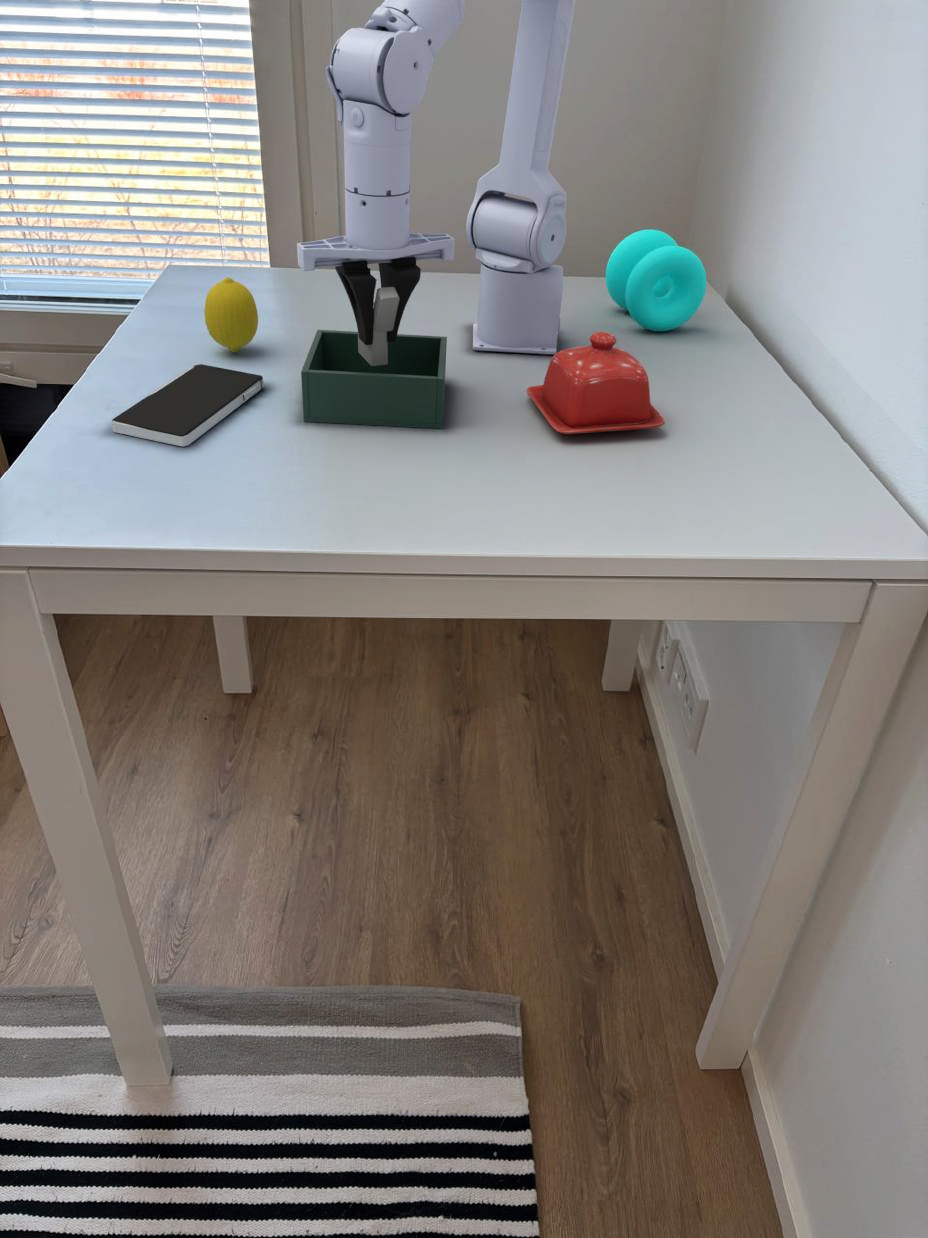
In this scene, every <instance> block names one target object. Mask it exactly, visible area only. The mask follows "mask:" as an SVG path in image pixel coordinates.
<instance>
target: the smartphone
mask: <svg viewBox="0 0 928 1238" xmlns="http://www.w3.org/2000/svg"><path fill="white" fill-rule="evenodd" d="M264 387H265V385H264V378H263V375H261V374H255V373H251V372H250V373H249V372H244V371H239V370H234V369H229V368H224V367H218V366H213V365H207V364H202V363H200V364H195V365H193V366H191V367H190V368H188V369H187V370H185V371H184V372H182V373H180V374H179V375H178V376H176V377H175V378H173V379H172V380H170V381H169V382H167V383H166V384H164V385H163V386H161V387H159V388H158V389H157V390H155V391H153V392H152V393H150V394H149V395H147V396H146V397H144V398H142V399H140V400H139V401H138V402H137V403H135V404H134V405H132V406H130V407H129V408H128V409H125V411H123V412H121V413H119V414H118V415H117V416H115V417H114V418H112V420H111V427H112V431H113V433H116V434H121V435H126V436H131V437H135V438H140V439H144V440H150V441H155V442H160V443H164V444H169V445H174V446H178V447H187V446H190V444H192V443H193V442H195V441H196V440H197V439H198V438H200V437H201V436H202V435H204V434H205V433H207V431H209V430H210V429H211V428H213V427H214V426H215V425H217V424H218V423H220V422H221V421H222V420H223V419H224V418H226V417H227V416H228V415H229V414H231V413H232V412H234V411H235V410H236V409H238V408H239V407H240V406H242V405H243V404H244V403H245V402H247V401H248V400H249V399H250V398H252V397H253V396H255V395H256V394H257V393H258V392H260V391H261V390H263V389H264Z"/></svg>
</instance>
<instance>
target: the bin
mask: <svg viewBox="0 0 928 1238" xmlns="http://www.w3.org/2000/svg"><path fill="white" fill-rule="evenodd" d="M447 344H448V337H447V336H439V335H438V336H437V335H421V334H403V333H397V338H396V342H391V343H389V342H388V364H386V365H377V366H371V365H370V364H369V363H368V362H367V361H366V360H365V359H364V358H363V357H362V355H361V354H360V353H359V352H358V331H347V330H332V329H331V330H330V329H329V330H328V329H317V330H316V332H315V335H314V338H313V340H312V342H311V345H310V348H309V351H308V352H307V356H306V359H305V361H304V364H303V366H302V368H301V371H300V376H301V396H302V414H303V418H302V419H303V422H305V423H307V422H308V423H325V424H342V425H345V424H346V425H360V426H361V425H363V426H382V427H402V428H420V429H438V430H443V418H444V417H443V416H444V402H445V389H446V369H447V368H446V367H447V366H446V365H447V347H448V346H447Z"/></svg>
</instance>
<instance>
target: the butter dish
mask: <svg viewBox="0 0 928 1238" xmlns="http://www.w3.org/2000/svg"><path fill="white" fill-rule="evenodd" d="M589 342H590V343H591V345H584V346H575V347H570V348H566V349H563V350H559V351H556V354H553V356H552V357H551V359H550V361H549V364H548V366H547V370H546V374H545V377H544V380H543V384H538V385H532V386H528V387H527V388H526V390H525V391H526V394H527V395H528V397H529V398H530V400H531V401H532V402H533V403H534V405H535V406H536V407H537V409H538V410H539V411H540V412H541V414H542V415H543V416H544V418H545V420H546V422H548V424H549V426H551V427H552V428H553V429H554V431H556V432H558V433H560V434H563V435H564V434H566V435H572V434H590V433H591V434H592V433H603V432H604V433H605V432H617V431H618V432H619V431H631V430H632V431H633V430H641V429H654V428H659V427H662V426H664V425H665V423H666V422H665V419H664V417H663V416H662V415H661V414H660V412H659V411H658V410H657V409H656V408H655V407H654V406H653V405H652V404H651V395H650V394H651V393H650V391H651V390H650V381H649V375H648V373H647V370H646V369H645V368H644V366H643V365H642V364H641V362H640V361H639V360H638V359H637V358H635V356H633V355H632V354H630V353H629V352H628V351H626V350H624V349H621V348H619V347H615V344H617V338H616V337H615V335H613V334H612V333H610V332H605V331H597V332H594V333H592V334H591V335H590V337H589Z"/></svg>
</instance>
